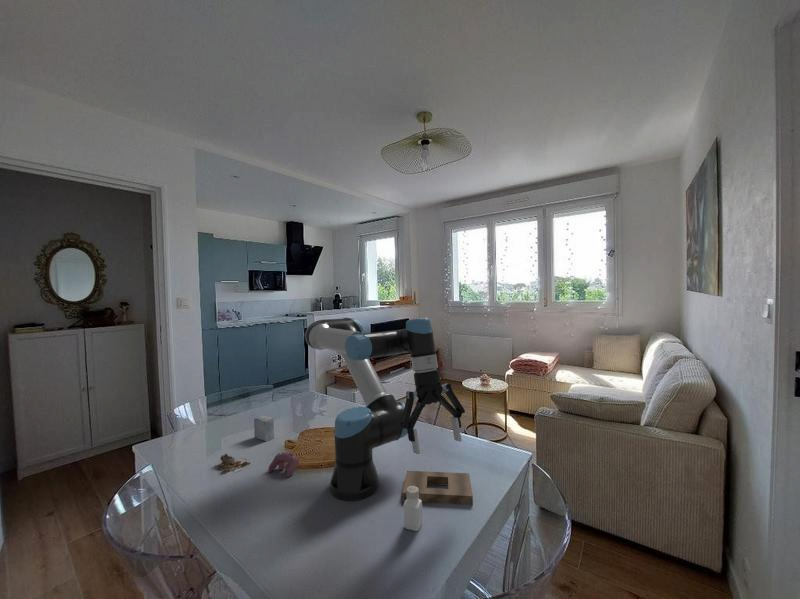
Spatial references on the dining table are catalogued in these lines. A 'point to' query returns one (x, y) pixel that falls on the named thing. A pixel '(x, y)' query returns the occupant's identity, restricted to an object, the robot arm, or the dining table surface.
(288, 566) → the dining table surface
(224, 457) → the frog figurine
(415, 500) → the pepper shaker
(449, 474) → the spice block
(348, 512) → the dining table surface
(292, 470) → the video game controller
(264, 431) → the medicine box
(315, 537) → the dining table surface
